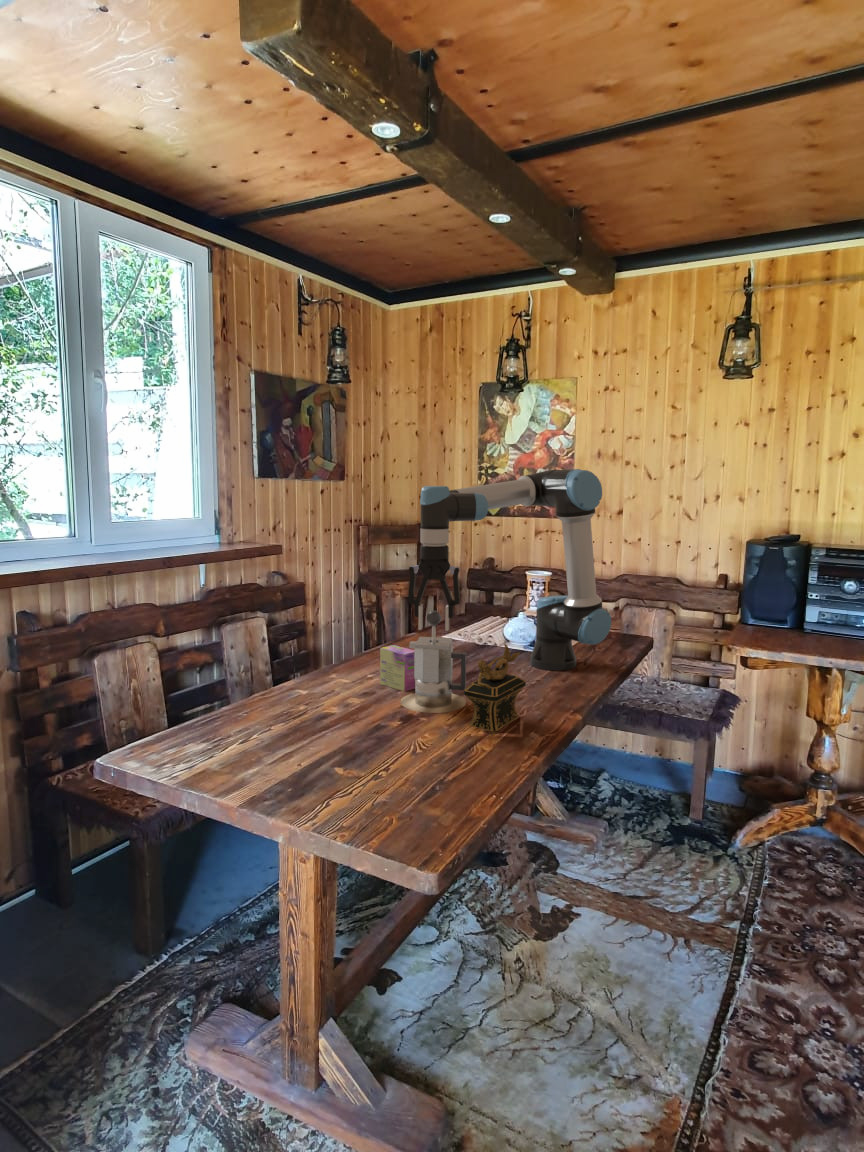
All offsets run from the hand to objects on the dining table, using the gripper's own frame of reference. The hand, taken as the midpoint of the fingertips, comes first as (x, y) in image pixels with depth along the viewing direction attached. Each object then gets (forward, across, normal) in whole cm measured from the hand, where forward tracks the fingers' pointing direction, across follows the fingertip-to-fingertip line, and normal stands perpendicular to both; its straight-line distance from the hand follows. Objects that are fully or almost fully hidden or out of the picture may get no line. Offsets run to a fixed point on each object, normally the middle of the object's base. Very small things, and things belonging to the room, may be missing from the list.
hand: (433, 629), depth 189 cm
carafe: (+20, -1, 0) cm, 20 cm away
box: (+21, +12, -13) cm, 28 cm away
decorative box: (+21, -18, +11) cm, 30 cm away
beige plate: (+21, 0, 0) cm, 21 cm away
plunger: (+12, 0, 0) cm, 12 cm away
